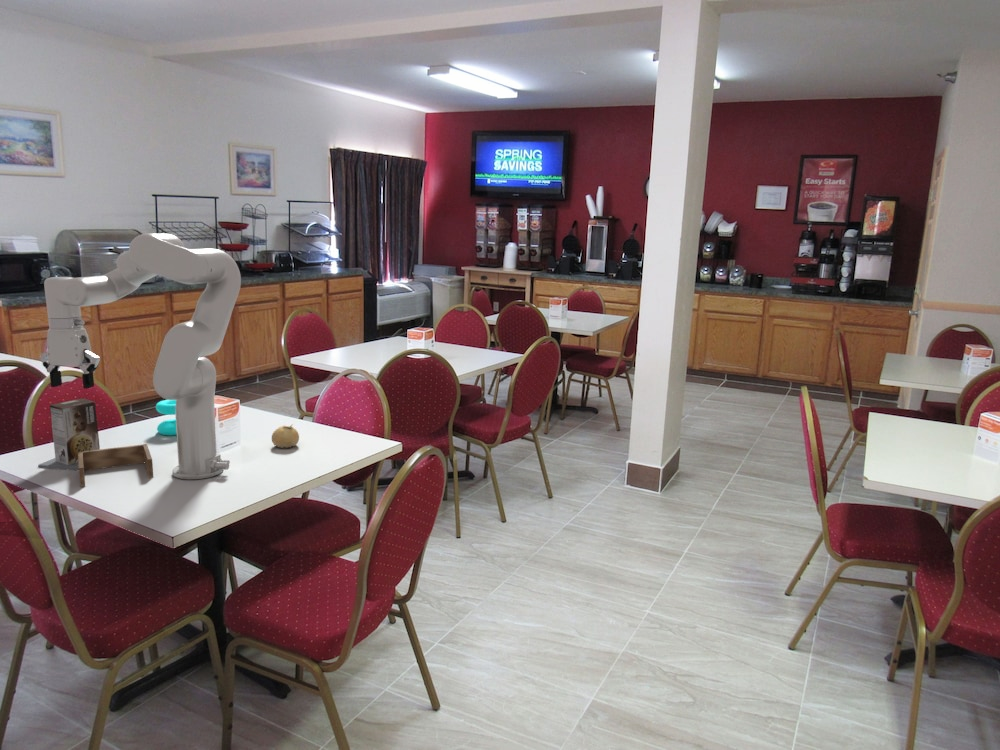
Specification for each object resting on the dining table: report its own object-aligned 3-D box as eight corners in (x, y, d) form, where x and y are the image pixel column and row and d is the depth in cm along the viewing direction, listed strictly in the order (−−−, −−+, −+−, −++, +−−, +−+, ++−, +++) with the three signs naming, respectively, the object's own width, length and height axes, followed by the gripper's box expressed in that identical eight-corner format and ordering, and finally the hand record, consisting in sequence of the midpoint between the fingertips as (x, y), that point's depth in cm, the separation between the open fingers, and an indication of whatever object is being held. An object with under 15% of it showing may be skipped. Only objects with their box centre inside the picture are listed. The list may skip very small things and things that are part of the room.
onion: (270, 451, 207) (270, 428, 205) (273, 443, 214) (272, 421, 213) (298, 450, 208) (298, 427, 207) (300, 442, 216) (299, 420, 215)
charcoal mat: (115, 455, 197) (115, 453, 197) (81, 470, 185) (81, 468, 185) (74, 452, 199) (74, 450, 199) (38, 466, 187) (38, 464, 186)
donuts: (149, 404, 215) (165, 397, 225) (151, 435, 217) (167, 427, 227) (180, 406, 215) (195, 398, 225) (182, 437, 217) (197, 428, 227)
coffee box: (87, 452, 197) (82, 397, 194) (101, 456, 194) (96, 401, 191) (54, 461, 189) (48, 404, 186) (68, 465, 186) (62, 407, 183)
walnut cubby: (148, 461, 194) (146, 444, 193) (153, 477, 182) (152, 459, 181) (79, 469, 186) (78, 451, 184) (80, 487, 174) (78, 468, 172)
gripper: (105, 323, 187) (111, 385, 190) (47, 321, 189) (55, 382, 192) (84, 326, 179) (91, 391, 183) (25, 324, 182) (33, 388, 185)
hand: (72, 386), depth 188 cm, fingers open, 9 cm apart
